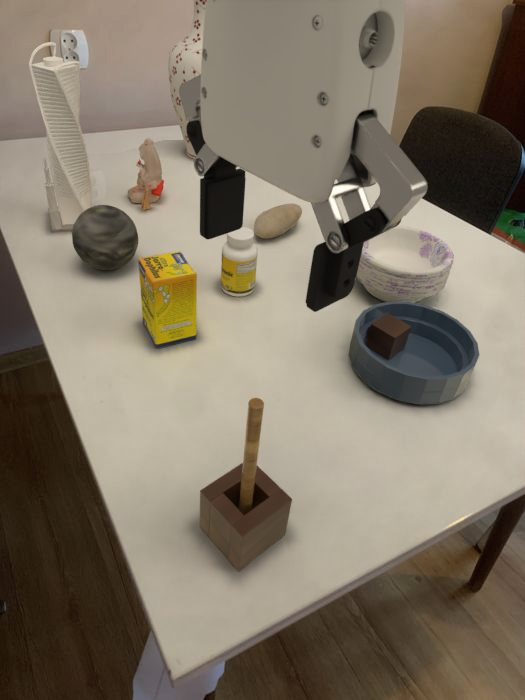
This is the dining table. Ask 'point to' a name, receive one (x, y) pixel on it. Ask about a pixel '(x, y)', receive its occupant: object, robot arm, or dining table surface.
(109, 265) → the decorative stone
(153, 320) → the supplement box
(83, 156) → the skyscraper
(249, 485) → the bamboo stick
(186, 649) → the dining table surface
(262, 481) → the stick holder
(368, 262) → the paper bowls
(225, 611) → the dining table surface
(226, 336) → the dining table surface
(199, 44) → the vase
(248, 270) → the supplement bottle
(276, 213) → the stone
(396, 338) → the walnut cube
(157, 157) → the figurine
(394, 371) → the stir bowl
